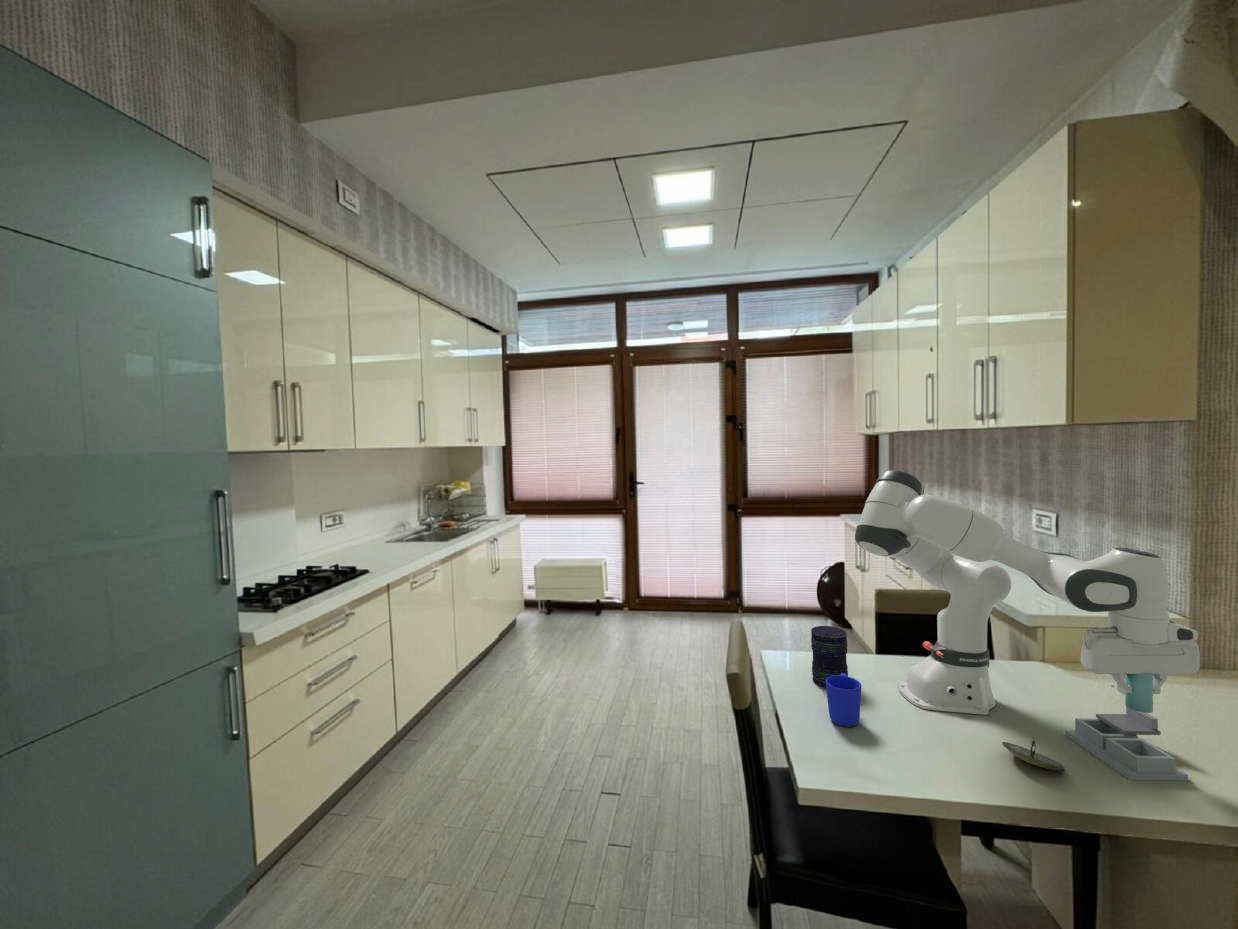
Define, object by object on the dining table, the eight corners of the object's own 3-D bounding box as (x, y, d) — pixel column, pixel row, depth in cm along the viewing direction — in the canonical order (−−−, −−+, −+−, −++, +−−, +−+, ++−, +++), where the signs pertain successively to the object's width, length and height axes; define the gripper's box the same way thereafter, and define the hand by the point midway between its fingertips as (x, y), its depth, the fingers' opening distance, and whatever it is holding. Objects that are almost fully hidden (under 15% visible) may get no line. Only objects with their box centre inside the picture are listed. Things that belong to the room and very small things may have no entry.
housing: (1188, 780, 101) (1188, 760, 101) (1129, 779, 102) (1128, 759, 102) (1116, 735, 117) (1115, 717, 117) (1065, 735, 118) (1065, 717, 117)
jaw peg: (1137, 712, 103) (1137, 674, 103) (1120, 703, 107) (1119, 665, 107) (1159, 713, 103) (1158, 674, 102) (1140, 703, 107) (1140, 665, 106)
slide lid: (1160, 735, 109) (1160, 720, 109) (1124, 734, 109) (1124, 720, 109) (1129, 717, 116) (1129, 703, 116) (1095, 717, 117) (1095, 703, 116)
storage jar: (817, 671, 155) (815, 623, 155) (851, 679, 149) (850, 629, 149) (808, 684, 147) (806, 633, 147) (844, 693, 141) (842, 640, 141)
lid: (991, 759, 110) (991, 736, 110) (1017, 746, 114) (1017, 724, 114) (1049, 787, 100) (1049, 762, 100) (1075, 772, 104) (1075, 748, 104)
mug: (861, 709, 132) (860, 671, 132) (862, 733, 121) (861, 692, 121) (827, 703, 136) (827, 667, 135) (825, 726, 125) (824, 686, 124)
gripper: (1097, 632, 102) (1098, 700, 102) (1207, 632, 100) (1207, 700, 101) (1071, 622, 108) (1072, 685, 109) (1175, 621, 107) (1175, 686, 107)
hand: (1138, 693), depth 105 cm, fingers closed on jaw peg, 4 cm apart
